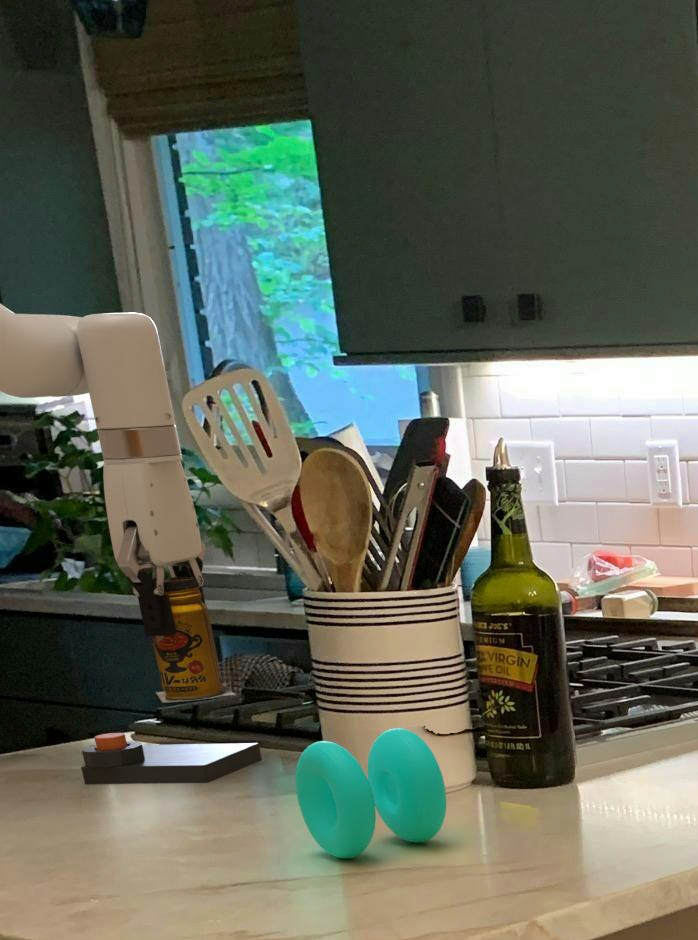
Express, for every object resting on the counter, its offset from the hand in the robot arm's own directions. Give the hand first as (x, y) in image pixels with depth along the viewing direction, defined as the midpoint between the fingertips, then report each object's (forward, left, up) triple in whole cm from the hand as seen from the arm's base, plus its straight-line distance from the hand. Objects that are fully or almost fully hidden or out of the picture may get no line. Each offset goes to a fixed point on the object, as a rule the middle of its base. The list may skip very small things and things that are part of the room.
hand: (177, 629), depth 203 cm
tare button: (-7, -5, -11) cm, 15 cm away
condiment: (0, +1, -7) cm, 7 cm away
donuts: (+36, -37, -15) cm, 54 cm away
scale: (-3, -2, -15) cm, 15 cm away
